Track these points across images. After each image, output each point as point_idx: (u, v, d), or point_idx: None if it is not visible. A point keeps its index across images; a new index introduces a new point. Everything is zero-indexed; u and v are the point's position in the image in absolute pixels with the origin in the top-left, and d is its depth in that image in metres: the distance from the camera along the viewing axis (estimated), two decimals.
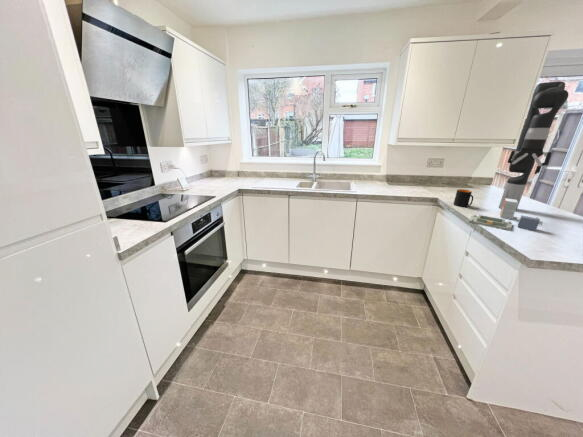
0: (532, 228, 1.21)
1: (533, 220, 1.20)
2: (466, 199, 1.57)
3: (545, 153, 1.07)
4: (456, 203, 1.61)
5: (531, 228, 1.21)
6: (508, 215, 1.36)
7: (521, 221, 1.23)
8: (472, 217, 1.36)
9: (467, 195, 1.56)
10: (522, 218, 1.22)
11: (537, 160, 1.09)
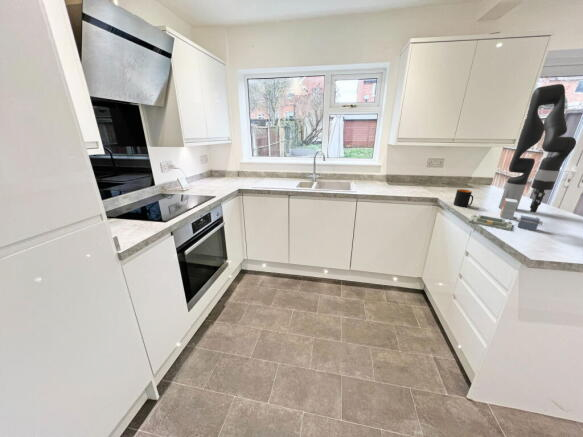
0: (532, 228, 1.21)
1: (533, 220, 1.20)
2: (466, 199, 1.57)
3: None
4: (456, 203, 1.61)
5: (531, 228, 1.21)
6: (508, 215, 1.36)
7: (521, 221, 1.23)
8: (472, 217, 1.36)
9: (467, 195, 1.56)
10: (522, 218, 1.22)
11: None
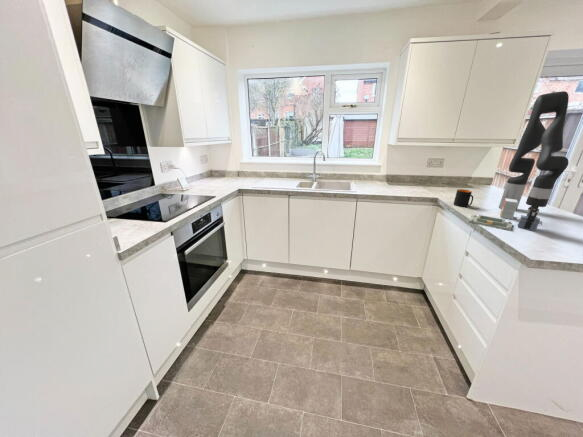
0: (532, 227, 1.21)
1: None
2: (466, 199, 1.57)
3: None
4: (456, 203, 1.61)
5: (531, 228, 1.21)
6: (508, 215, 1.36)
7: (521, 221, 1.23)
8: (472, 217, 1.36)
9: (467, 195, 1.56)
10: (522, 218, 1.22)
11: None
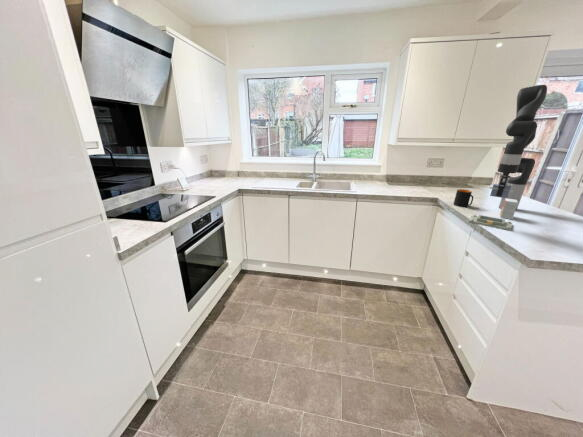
0: (504, 195, 1.21)
1: None
2: (466, 199, 1.57)
3: None
4: (456, 203, 1.61)
5: (503, 195, 1.22)
6: (508, 215, 1.36)
7: (493, 189, 1.24)
8: (472, 217, 1.36)
9: (467, 195, 1.56)
10: (494, 186, 1.23)
11: None
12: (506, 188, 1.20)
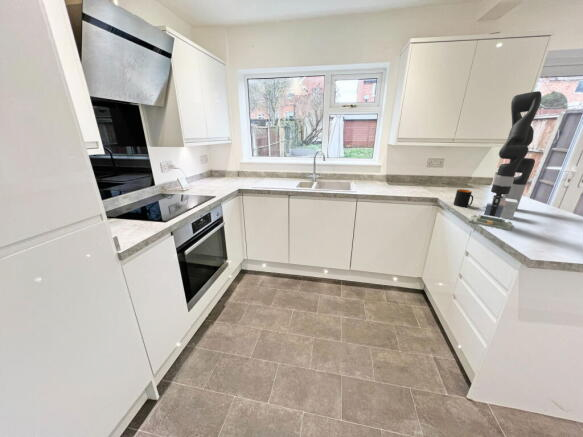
0: (497, 214, 1.25)
1: None
2: (466, 199, 1.57)
3: None
4: (456, 203, 1.61)
5: (496, 215, 1.26)
6: (508, 215, 1.36)
7: (487, 208, 1.28)
8: (472, 217, 1.36)
9: (467, 195, 1.56)
10: (488, 205, 1.27)
11: None
12: (499, 208, 1.24)
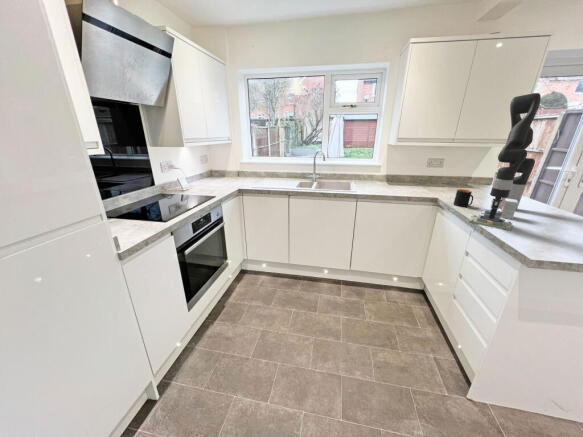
0: (495, 221, 1.26)
1: (495, 214, 1.26)
2: (466, 199, 1.57)
3: None
4: (456, 203, 1.61)
5: None
6: (508, 215, 1.36)
7: (485, 215, 1.29)
8: (472, 217, 1.36)
9: (467, 195, 1.56)
10: (486, 212, 1.28)
11: None
12: (497, 214, 1.25)
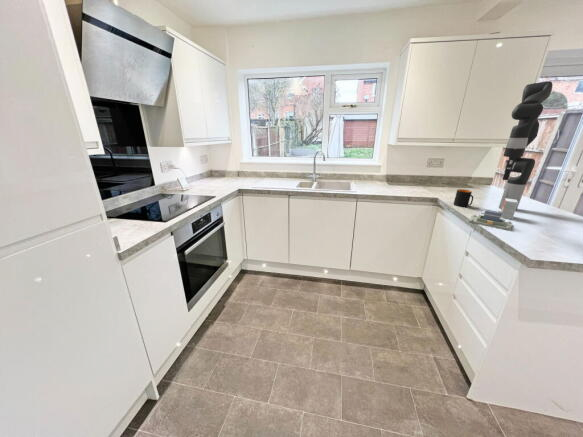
0: (495, 221, 1.26)
1: (495, 214, 1.26)
2: (466, 199, 1.57)
3: None
4: (456, 203, 1.61)
5: None
6: (508, 215, 1.36)
7: (485, 215, 1.29)
8: (472, 217, 1.36)
9: (467, 195, 1.56)
10: (486, 212, 1.28)
11: None
12: (497, 214, 1.25)
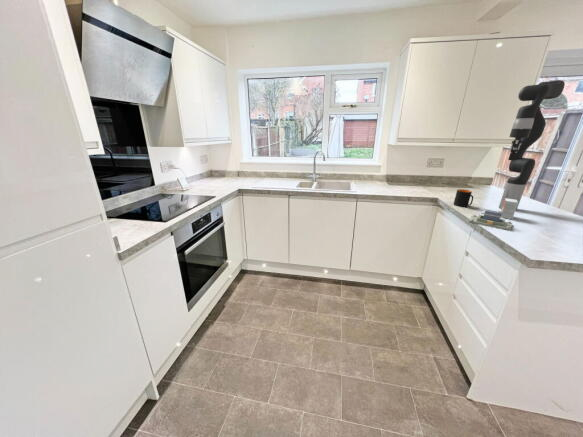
0: (495, 221, 1.26)
1: (495, 214, 1.26)
2: (466, 199, 1.57)
3: None
4: (456, 203, 1.61)
5: None
6: (508, 215, 1.36)
7: (485, 215, 1.29)
8: (472, 217, 1.36)
9: (467, 195, 1.56)
10: (486, 212, 1.28)
11: None
12: (497, 214, 1.25)
